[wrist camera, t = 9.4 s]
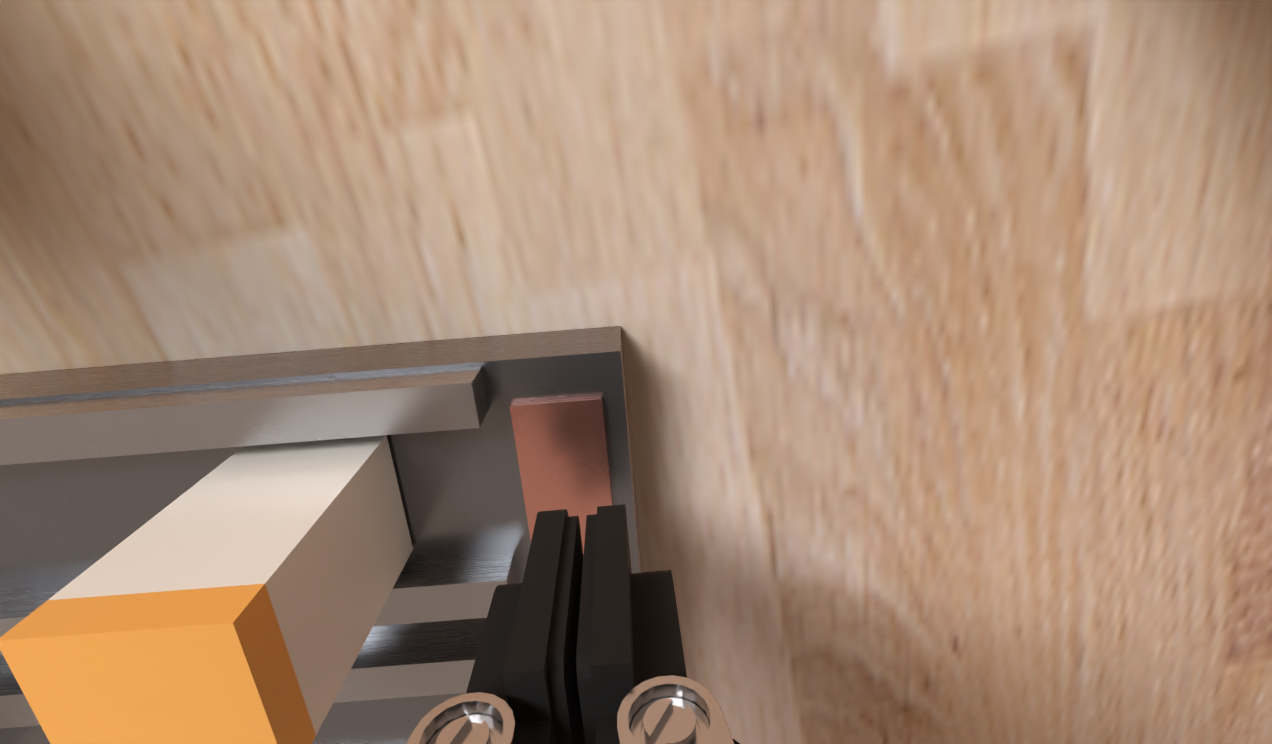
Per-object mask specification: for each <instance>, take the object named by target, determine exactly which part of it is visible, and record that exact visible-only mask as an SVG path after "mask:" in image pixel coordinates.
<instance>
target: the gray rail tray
mask: <svg viewBox="0 0 1272 744" xmlns="http://www.w3.org/2000/svg"><path fill="white" fill-rule="evenodd" d="M384 435H387V439H388V443H389V448H390V452H391V456H392V460H393V465H394V469H395V473H396V478H397V482H398V486H399V491H400V495H401V499H402V503H403V508H404V512H405V516H406V521H407V525H408V529H409V534H410V538H411V542H412V546H413V550H412V552H411V554H410V556H409V558H408V560H407V562H406V564H405V566H404V568H403V570H402V571H401V573H400V575H399V577H398V579H397V581H396V583H395V585H394V587H393V589H392V591H391V593H390V595H389V596H388V598H387V600H386V602H385V604H384V606H383V608H382V610H381V612H380V614H379V616H378V618H377V619H376V621H375V623H374V625H373V627H372V629H371V631H370V633H369V635H368V637H367V639H366V641H365V643H364V644H363V646H362V648H361V650H360V652H359V654H358V656H357V658H356V660H355V662H354V664H353V666H352V668H351V669H350V671H349V673H348V675H347V677H346V679H345V681H344V683H343V685H342V687H341V689H340V691H339V693H338V694H337V696H336V698H335V700H334V702H333V704H332V706H331V708H330V710H329V712H328V714H327V716H326V718H325V719H324V721H323V723H322V725H321V727H320V729H319V731H318V733H317V735H316V737H315V739H314V741H313V743H312V744H406V743H407V741H408V739H409V738H410V736H411V734H412V732H413V731H414V729H415V728H416V726H417V725H418V723H419V722H420V720H421V719H422V718H423V717H424V716H425V715H427V714H428V713H429V712H430V711H431V710H432V709H433V708H434V707H436V706H438V705H439V704H441V703H443V702H445V701H446V700H448V699H450V698H453V697H456V696H459V695H462V694H466V691H467V688H468V684H469V680H470V677H471V673H472V670H473V666H474V662H475V659H476V655H477V652H478V648H479V644H480V641H481V637H482V634H483V630H484V626H485V623H486V619H487V615H488V612H489V608H490V605H491V601H492V597H493V594H494V591H495V588H496V587H497V586H498V585H504V584H516V583H522V582H523V577H524V572H525V568H526V563H527V558H528V554H529V549H530V544H531V540H532V535H533V531H534V526H535V521H536V517H537V513H538V512H539V511H550V510H562V509H567V511H568V516H569V517H570V516H578V517H579V522H580V530H581V538H582V547H583V555H584V543H585V529H586V517H587V515H593V514H597V507H598V506H609V505H621V504H625V505H626V515H627V526H628V536H629V547H630V558H631V569H632V573H642V571H641V559H640V547H639V536H638V524H637V513H636V501H635V489H634V478H633V466H632V454H631V443H630V431H629V420H628V408H627V396H626V385H625V373H624V361H623V350H622V338H621V327H620V326H616V327H603V328H590V329H578V330H565V331H552V332H539V333H527V334H514V335H501V336H488V337H475V338H463V339H450V340H437V341H424V342H412V343H399V344H386V345H373V346H361V347H348V348H335V349H322V350H310V351H297V352H284V353H271V354H259V355H246V356H233V357H220V358H208V359H195V360H182V361H169V362H157V363H144V364H131V365H118V366H106V367H93V368H80V369H67V370H54V371H42V372H29V373H16V374H3V375H0V637H1V636H3V635H4V634H5V633H6V632H8V631H9V630H10V629H12V628H13V627H14V626H15V625H17V624H18V623H19V622H20V621H22V620H23V619H24V618H26V617H27V616H28V615H29V614H31V613H32V612H33V611H34V610H36V609H37V608H38V607H40V606H41V605H42V604H43V603H45V602H46V601H47V600H48V599H50V598H51V597H52V596H54V595H55V594H56V593H57V592H59V591H60V590H61V589H62V588H64V587H65V586H66V585H68V584H69V583H70V582H71V581H73V580H74V579H75V578H76V577H78V576H79V575H80V574H82V573H83V572H84V571H85V570H87V569H88V568H89V567H90V566H92V565H93V564H94V563H96V562H97V561H98V560H99V559H101V558H102V557H103V556H104V555H106V554H107V553H108V552H110V551H111V550H112V549H113V548H115V547H116V546H117V545H118V544H120V543H121V542H122V541H124V540H125V539H126V538H127V537H129V536H130V535H131V534H132V533H134V532H135V531H136V530H138V529H139V528H140V527H141V526H143V525H144V524H145V523H146V522H148V521H149V520H150V519H152V518H153V517H154V516H155V515H157V514H158V513H159V512H160V511H162V510H163V509H164V508H166V507H167V506H168V505H169V504H171V503H172V502H173V501H174V500H176V499H177V498H178V497H180V496H181V495H182V494H183V493H185V492H186V491H187V490H188V489H190V488H191V487H192V486H194V485H195V484H196V483H197V482H199V481H200V480H201V479H202V478H204V477H205V476H206V475H208V474H209V473H210V472H211V471H213V470H214V469H215V468H216V467H218V466H219V465H220V464H222V463H223V462H224V461H225V460H227V459H228V458H229V457H230V456H232V455H233V454H234V453H236V452H237V451H238V450H239V449H241V448H242V447H243V446H256V445H269V444H281V443H294V442H307V441H320V440H333V439H346V438H358V437H371V436H384ZM0 744H50V742H49V740H48V738H47V737H46V735H45V733H44V731H43V729H42V727H41V725H40V723H39V722H38V720H37V718H36V716H35V714H34V712H33V710H32V708H31V707H30V705H29V703H28V701H27V699H26V697H25V695H24V694H23V692H22V690H21V688H20V686H19V684H18V682H17V680H16V679H15V677H14V675H13V673H12V671H11V669H10V667H9V665H8V664H7V662H6V660H5V658H4V656H3V654H2V652H1V651H0Z"/></svg>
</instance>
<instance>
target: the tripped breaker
mask: <svg viewBox="0 0 1272 744" xmlns="http://www.w3.org/2000/svg"><path fill="white" fill-rule="evenodd" d="M412 550H413V546H412V542H411V538H410V534H409V529H408V525H407V521H406V516H405V512H404V508H403V503H402V499H401V495H400V491H399V486H398V482H397V478H396V473H395V469H394V465H393V460H392V456H391V452H390V448H389V443H388V439H387V435H384V436H371V437H358V438H346V439H333V440H320V441H307V442H294V443H281V444H269V445H256V446H243V447H242V448H241V449H239V450H238V451H237V452H236V453H234V454H233V455H232V456H230V457H229V458H228V459H227V460H225V461H224V462H223V463H222V464H220V465H219V466H218V467H216V468H215V469H214V470H213V471H211V472H210V473H209V474H208V475H206V476H205V477H204V478H202V479H201V480H200V481H199V482H197V483H196V484H195V485H194V486H192V487H191V488H190V489H188V490H187V491H186V492H185V493H183V494H182V495H181V496H180V497H178V498H177V499H176V500H174V501H173V502H172V503H171V504H169V505H168V506H167V507H166V508H164V509H163V510H162V511H160V512H159V513H158V514H157V515H155V516H154V517H153V518H152V519H150V520H149V521H148V522H146V523H145V524H144V525H143V526H141V527H140V528H139V529H138V530H136V531H135V532H134V533H132V534H131V535H130V536H129V537H127V538H126V539H125V540H124V541H122V542H121V543H120V544H118V545H117V546H116V547H115V548H113V549H112V550H111V551H110V552H108V553H107V554H106V555H104V556H103V557H102V558H101V559H99V560H98V561H97V562H96V563H94V564H93V565H92V566H90V567H89V568H88V569H87V570H85V571H84V572H83V573H82V574H80V575H79V576H78V577H76V578H75V579H74V580H73V581H71V582H70V583H69V584H68V585H66V586H65V587H64V588H62V589H61V590H60V591H59V592H57V593H56V594H55V595H54V596H52V597H51V598H50V599H48V600H47V601H46V602H45V603H43V604H42V605H41V606H40V607H38V608H37V609H36V610H34V611H33V612H32V613H31V614H29V615H28V616H27V617H26V618H24V619H23V620H22V621H20V622H19V623H18V624H17V625H15V626H14V627H13V628H12V629H10V630H9V631H8V632H6V633H5V634H4V635H3V636H1V637H0V651H1V652H2V654H3V656H4V658H5V660H6V662H7V664H8V665H9V667H10V669H11V671H12V673H13V675H14V677H15V679H16V680H17V682H18V684H19V686H20V688H21V690H22V692H23V694H24V695H25V697H26V699H27V701H28V703H29V705H30V707H31V708H32V710H33V712H34V714H35V716H36V718H37V720H38V722H39V723H40V725H41V727H42V729H43V731H44V733H45V735H46V737H47V738H48V740H49V742H50V744H312V743H313V741H314V739H315V737H316V735H317V733H318V731H319V729H320V727H321V725H322V723H323V721H324V719H325V718H326V716H327V714H328V712H329V710H330V708H331V706H332V704H333V702H334V700H335V698H336V696H337V694H338V693H339V691H340V689H341V687H342V685H343V683H344V681H345V679H346V677H347V675H348V673H349V671H350V669H351V668H352V666H353V664H354V662H355V660H356V658H357V656H358V654H359V652H360V650H361V648H362V646H363V644H364V643H365V641H366V639H367V637H368V635H369V633H370V631H371V629H372V627H373V625H374V623H375V621H376V619H377V618H378V616H379V614H380V612H381V610H382V608H383V606H384V604H385V602H386V600H387V598H388V596H389V595H390V593H391V591H392V589H393V587H394V585H395V583H396V581H397V579H398V577H399V575H400V573H401V571H402V570H403V568H404V566H405V564H406V562H407V560H408V558H409V556H410V554H411V552H412Z"/></svg>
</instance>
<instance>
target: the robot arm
mask: <svg viewBox="0 0 1272 744" xmlns="http://www.w3.org/2000/svg"><path fill="white" fill-rule="evenodd" d="M406 744H740V743H738V742H737V741H735V740H734V739H732V737H731V734H730V731H729V729H728V726H727V724H726V721H725V718H724V716H723V713H722V711H721V708H720V705H719V704H718V702H717V700H716V699H715V697H714V695H713V694H712V693H711V692H710V691H709V690H708V689H707V688H705V687H704V686H703V685H702V684H700V683H698V682H696V681H694V680H691V679H689V678H687V675H686V669H685V662H684V655H683V648H682V641H681V634H680V627H679V620H678V613H677V606H676V599H675V592H674V586H673V579H672V572H671V570H667V571H655V572H644V573H632V569H631V558H630V547H629V536H628V526H627V515H626V505H625V504H621V505H609V506H598V507H597V514H593V515H587V517H586V529H585V543H584V555H583V547H582V538H581V530H580V522H579V517H578V516H570V517H569V516H568V511H567V509H562V510H550V511H539V512H538V513H537V517H536V521H535V526H534V531H533V535H532V540H531V544H530V549H529V554H528V558H527V563H526V568H525V572H524V577H523V582H522V583H516V584H504V585H498V586H497V587H496V588H495V591H494V594H493V597H492V601H491V605H490V608H489V612H488V615H487V619H486V623H485V626H484V630H483V634H482V637H481V641H480V644H479V648H478V652H477V655H476V659H475V662H474V666H473V670H472V673H471V677H470V680H469V684H468V688H467V691H466V694H462V695H459V696H456V697H453V698H450V699H448V700H446V701H445V702H443V703H441V704H439V705H438V706H436V707H434V708H433V709H432V710H431V711H430V712H429V713H428V714H427V715H425V716H424V717H423V718H422V719H421V720H420V722H419V723H418V725H417V726H416V728H415V729H414V731H413V732H412V734H411V736H410V738H409V739H408V741H407V743H406Z"/></svg>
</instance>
